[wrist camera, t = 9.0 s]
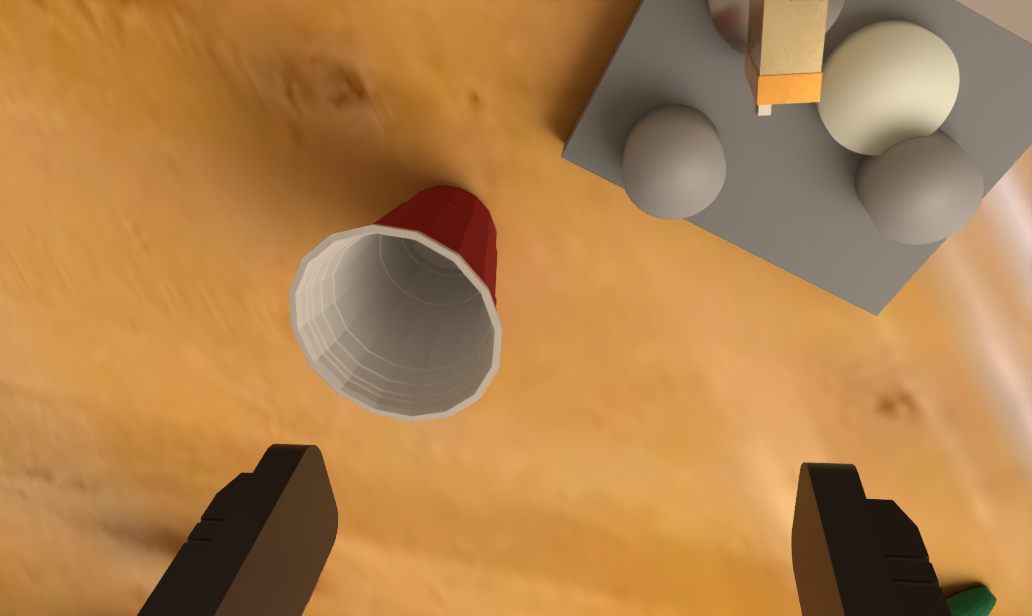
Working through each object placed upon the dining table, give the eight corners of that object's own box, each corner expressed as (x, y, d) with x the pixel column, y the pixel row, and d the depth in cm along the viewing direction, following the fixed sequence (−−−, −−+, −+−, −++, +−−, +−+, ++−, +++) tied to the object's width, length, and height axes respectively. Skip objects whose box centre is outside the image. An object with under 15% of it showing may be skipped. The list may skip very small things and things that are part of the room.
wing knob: (709, -92, 34) (719, -78, 29) (853, -106, 33) (890, -95, 28) (705, 70, 38) (714, 107, 33) (834, 62, 37) (864, 99, 32)
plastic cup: (424, 101, 43) (355, 184, 33) (572, 220, 46) (549, 331, 35) (328, 232, 48) (243, 337, 38) (465, 332, 51) (419, 456, 41)
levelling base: (564, 144, 43) (555, 178, 39) (712, -136, 35) (720, -132, 31) (868, 298, 45) (890, 345, 41) (1071, 66, 37) (1125, 96, 33)
